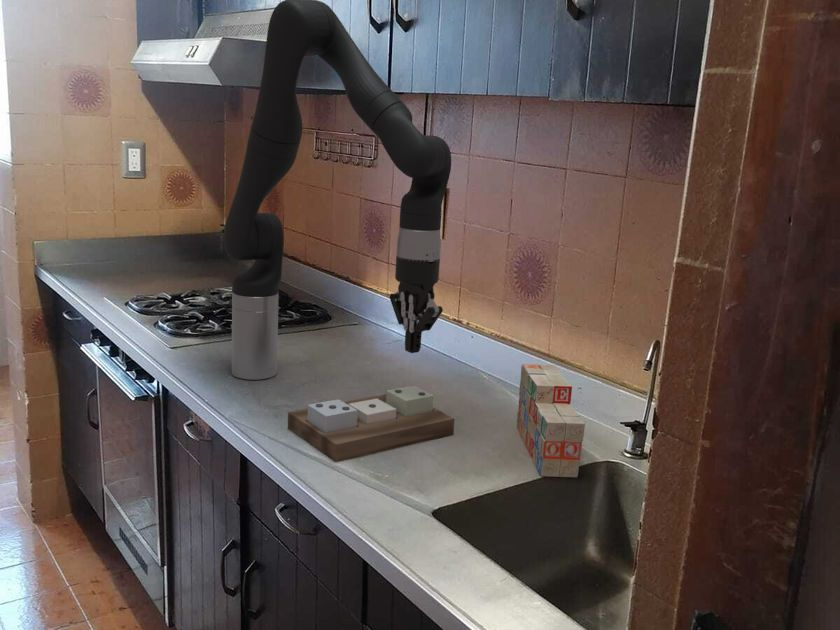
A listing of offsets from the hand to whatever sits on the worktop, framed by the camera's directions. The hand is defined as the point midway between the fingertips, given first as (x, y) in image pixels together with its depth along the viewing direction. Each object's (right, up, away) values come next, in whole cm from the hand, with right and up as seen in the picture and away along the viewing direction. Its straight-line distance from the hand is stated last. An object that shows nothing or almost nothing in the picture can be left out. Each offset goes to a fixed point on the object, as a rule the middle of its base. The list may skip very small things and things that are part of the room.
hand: (412, 351), depth 142 cm
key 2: (-1, -11, +3) cm, 11 cm away
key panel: (-7, -14, -2) cm, 16 cm away
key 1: (-7, -12, -2) cm, 14 cm away
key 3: (-13, -12, -7) cm, 19 cm away
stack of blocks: (+23, -17, -5) cm, 29 cm away
